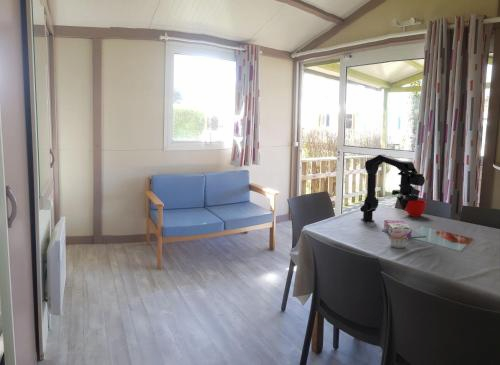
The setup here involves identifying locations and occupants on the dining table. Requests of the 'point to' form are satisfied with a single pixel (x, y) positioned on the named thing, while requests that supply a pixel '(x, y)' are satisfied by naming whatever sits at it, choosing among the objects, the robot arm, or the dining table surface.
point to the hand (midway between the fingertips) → (403, 209)
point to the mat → (413, 234)
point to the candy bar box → (397, 226)
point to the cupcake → (398, 238)
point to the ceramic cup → (415, 208)
